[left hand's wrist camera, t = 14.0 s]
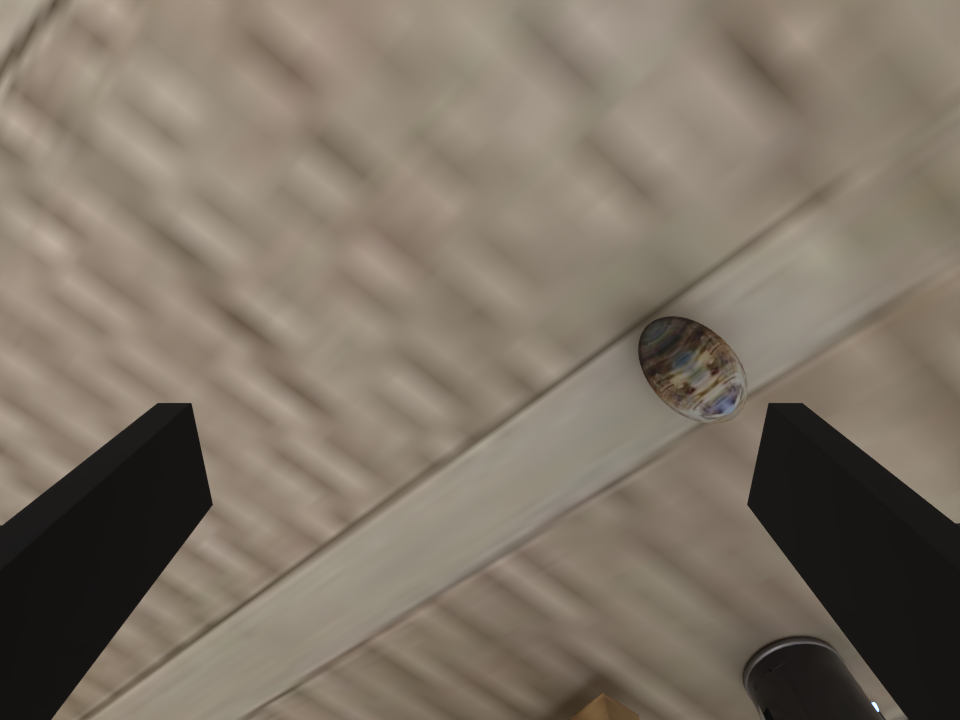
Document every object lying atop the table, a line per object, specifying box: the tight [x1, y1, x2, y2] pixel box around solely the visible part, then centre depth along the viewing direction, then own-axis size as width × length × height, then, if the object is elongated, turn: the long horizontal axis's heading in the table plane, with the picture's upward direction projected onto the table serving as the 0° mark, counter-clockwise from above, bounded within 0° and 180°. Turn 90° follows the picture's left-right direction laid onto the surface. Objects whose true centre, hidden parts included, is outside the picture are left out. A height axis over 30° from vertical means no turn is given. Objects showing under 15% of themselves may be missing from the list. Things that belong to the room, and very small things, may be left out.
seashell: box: [638, 317, 747, 423], centre depth 38 cm, size 10×6×8 cm, turn 45°
